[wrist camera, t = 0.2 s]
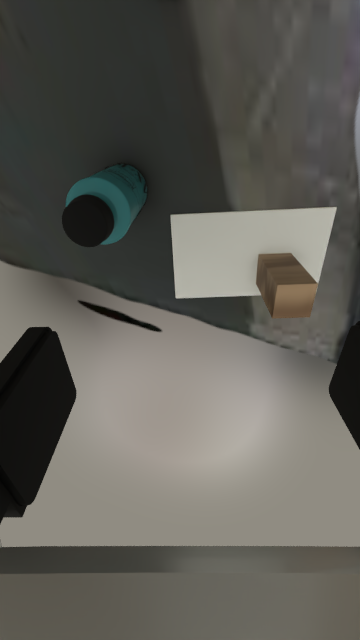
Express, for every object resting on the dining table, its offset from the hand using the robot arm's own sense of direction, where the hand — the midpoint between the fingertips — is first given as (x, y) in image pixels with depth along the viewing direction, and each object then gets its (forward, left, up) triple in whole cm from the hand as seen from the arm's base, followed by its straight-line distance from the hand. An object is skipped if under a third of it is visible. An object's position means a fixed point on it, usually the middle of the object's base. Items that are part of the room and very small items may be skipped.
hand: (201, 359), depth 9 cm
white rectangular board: (+11, +9, -37) cm, 39 cm away
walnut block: (+13, +13, -36) cm, 41 cm away
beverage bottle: (0, -9, -37) cm, 38 cm away
